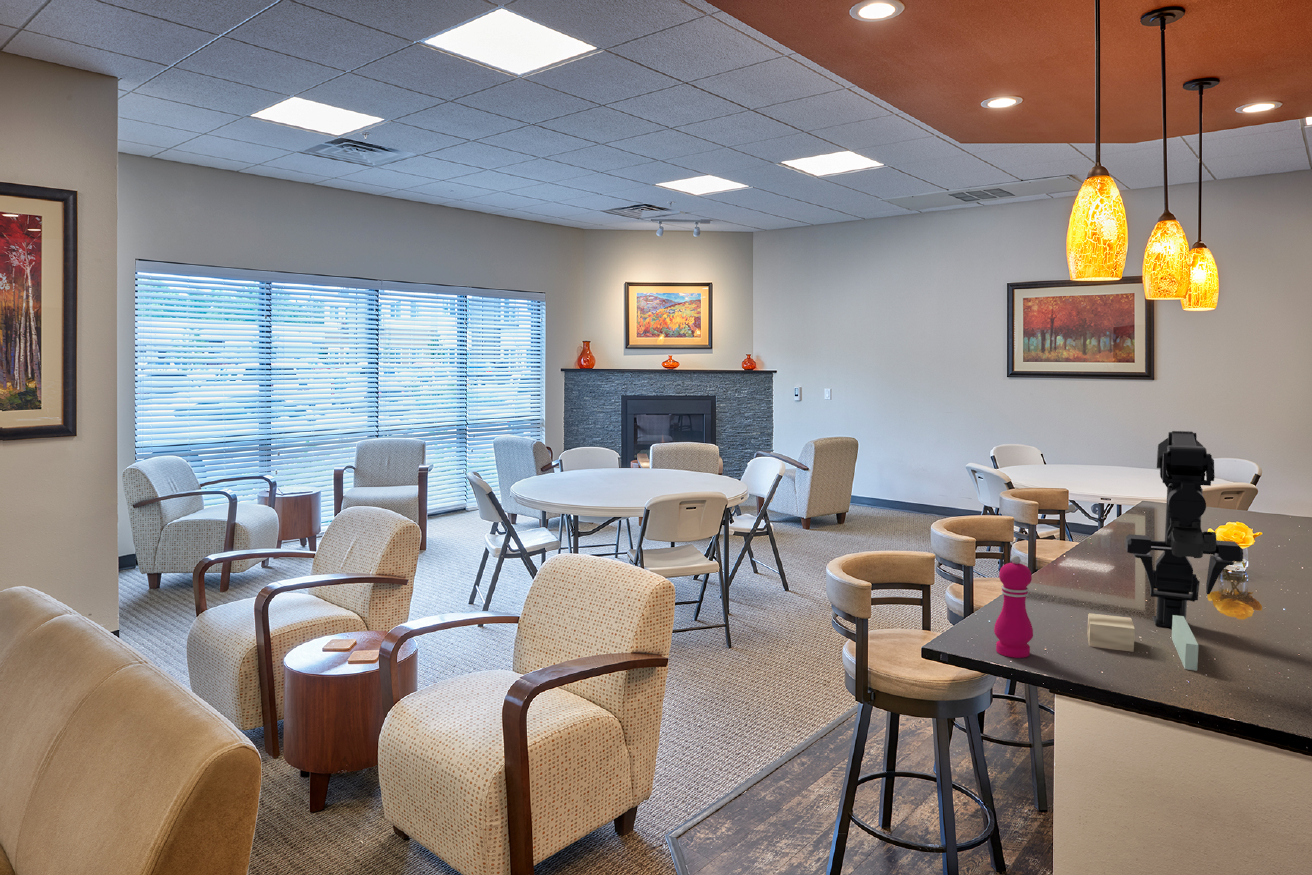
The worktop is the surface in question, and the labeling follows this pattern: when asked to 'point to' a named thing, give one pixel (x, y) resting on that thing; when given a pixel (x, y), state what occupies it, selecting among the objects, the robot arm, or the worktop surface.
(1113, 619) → the maple block
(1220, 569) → the robot arm
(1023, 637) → the pepper mill
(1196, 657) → the sage board
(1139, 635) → the worktop surface
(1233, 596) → the worktop surface
